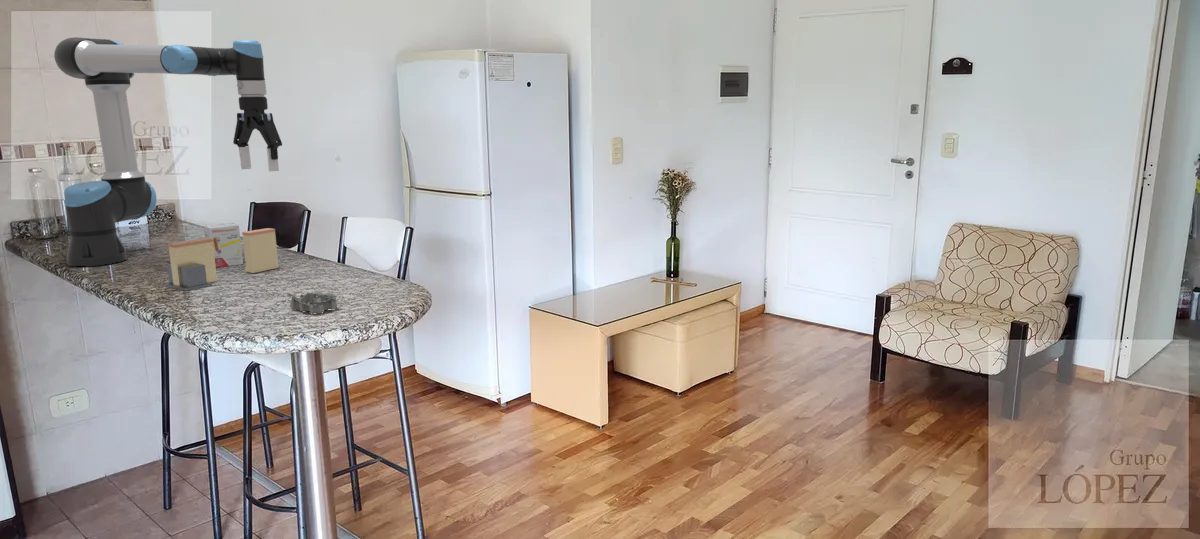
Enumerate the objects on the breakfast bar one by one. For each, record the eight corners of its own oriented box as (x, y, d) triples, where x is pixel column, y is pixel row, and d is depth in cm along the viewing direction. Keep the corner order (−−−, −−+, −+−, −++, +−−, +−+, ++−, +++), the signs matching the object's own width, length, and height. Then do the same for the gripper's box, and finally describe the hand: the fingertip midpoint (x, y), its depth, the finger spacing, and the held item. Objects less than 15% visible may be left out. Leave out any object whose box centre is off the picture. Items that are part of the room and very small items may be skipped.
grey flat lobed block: (286, 310, 181) (284, 292, 180) (315, 303, 187) (313, 286, 186) (313, 317, 174) (311, 299, 174) (342, 309, 180) (340, 292, 179)
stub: (246, 271, 218) (242, 232, 216) (272, 266, 225) (268, 227, 222) (253, 273, 217) (248, 233, 214) (278, 267, 223) (274, 228, 221)
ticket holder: (164, 285, 203) (158, 242, 201) (203, 278, 212) (198, 236, 209) (185, 290, 198) (180, 246, 195) (224, 282, 206) (220, 240, 204)
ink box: (212, 268, 224) (207, 227, 221) (207, 265, 227) (202, 225, 225) (243, 264, 229) (239, 224, 227) (238, 261, 233) (234, 222, 230)
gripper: (215, 96, 230) (223, 169, 234) (266, 95, 216) (274, 173, 221) (239, 96, 236) (246, 167, 240) (290, 95, 222) (297, 170, 227)
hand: (259, 170), depth 231 cm, fingers open, 13 cm apart
